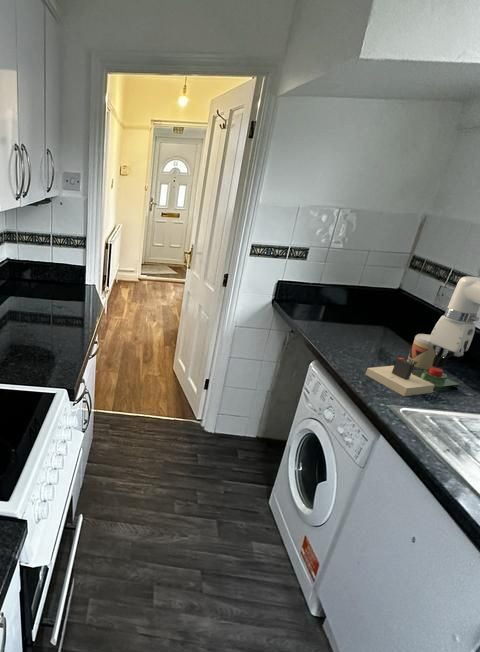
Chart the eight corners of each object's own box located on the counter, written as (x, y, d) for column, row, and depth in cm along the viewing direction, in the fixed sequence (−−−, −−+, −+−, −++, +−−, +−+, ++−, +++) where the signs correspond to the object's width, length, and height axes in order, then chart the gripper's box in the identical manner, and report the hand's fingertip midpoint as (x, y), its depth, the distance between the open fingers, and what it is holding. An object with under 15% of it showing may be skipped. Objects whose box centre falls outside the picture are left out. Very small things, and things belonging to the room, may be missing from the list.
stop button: (444, 376, 141) (446, 371, 140) (436, 376, 140) (438, 372, 139) (433, 371, 144) (435, 366, 143) (425, 372, 143) (427, 367, 142)
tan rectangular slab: (431, 393, 136) (435, 384, 135) (404, 396, 133) (407, 387, 132) (390, 372, 150) (393, 365, 148) (364, 375, 146) (367, 367, 145)
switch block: (456, 389, 140) (461, 379, 138) (437, 392, 137) (441, 381, 136) (425, 375, 149) (429, 365, 148) (406, 377, 147) (410, 367, 145)
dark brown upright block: (409, 379, 138) (415, 363, 136) (405, 379, 138) (411, 364, 135) (395, 372, 143) (401, 357, 140) (391, 372, 142) (397, 357, 140)
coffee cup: (398, 360, 160) (410, 332, 154) (424, 363, 159) (437, 335, 153) (411, 371, 151) (425, 342, 146) (439, 375, 150) (453, 345, 145)
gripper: (493, 323, 128) (468, 375, 135) (444, 307, 141) (424, 356, 148) (476, 324, 126) (451, 377, 133) (428, 308, 139) (408, 358, 146)
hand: (437, 366), depth 141 cm, fingers closed
